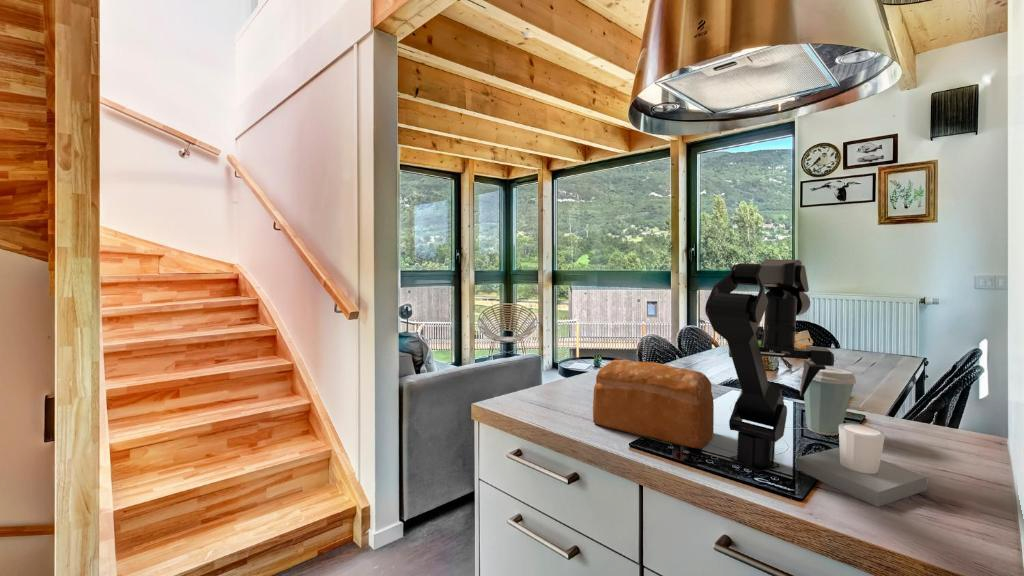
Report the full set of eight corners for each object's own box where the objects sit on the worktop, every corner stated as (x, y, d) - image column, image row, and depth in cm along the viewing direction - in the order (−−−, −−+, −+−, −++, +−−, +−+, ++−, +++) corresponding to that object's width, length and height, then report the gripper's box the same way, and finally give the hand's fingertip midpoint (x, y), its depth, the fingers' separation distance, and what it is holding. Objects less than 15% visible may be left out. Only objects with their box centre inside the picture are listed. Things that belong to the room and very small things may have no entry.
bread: (611, 410, 123) (613, 351, 122) (717, 433, 108) (720, 366, 106) (587, 425, 112) (588, 361, 111) (701, 453, 97) (704, 379, 95)
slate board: (877, 506, 76) (878, 492, 76) (796, 470, 89) (796, 457, 89) (926, 490, 82) (927, 476, 82) (843, 457, 95) (844, 445, 95)
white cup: (891, 476, 81) (894, 438, 81) (848, 473, 83) (850, 435, 82) (868, 459, 88) (871, 423, 88) (829, 456, 89) (831, 421, 89)
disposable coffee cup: (792, 420, 116) (795, 361, 115) (843, 425, 112) (846, 364, 111) (804, 436, 106) (808, 371, 105) (860, 442, 102) (865, 375, 101)
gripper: (824, 317, 101) (820, 388, 102) (729, 312, 108) (726, 378, 109) (836, 324, 91) (832, 403, 92) (731, 318, 98) (728, 391, 99)
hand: (776, 392), depth 98 cm, fingers open, 9 cm apart
